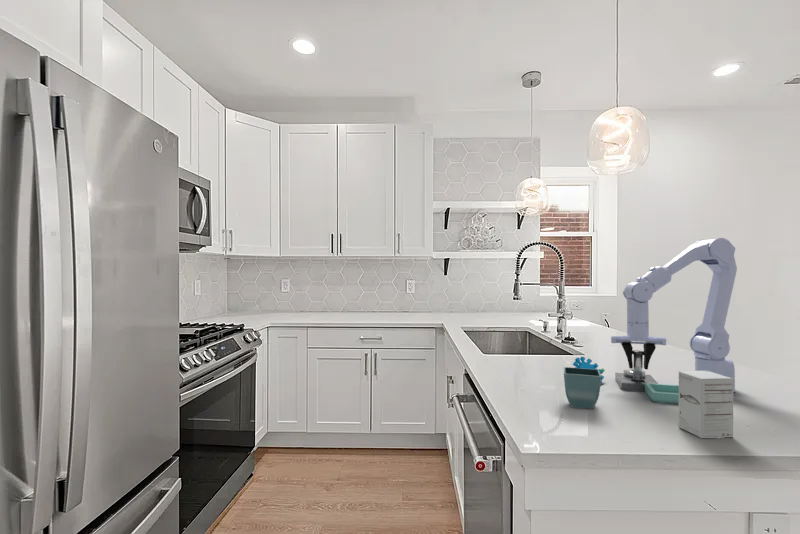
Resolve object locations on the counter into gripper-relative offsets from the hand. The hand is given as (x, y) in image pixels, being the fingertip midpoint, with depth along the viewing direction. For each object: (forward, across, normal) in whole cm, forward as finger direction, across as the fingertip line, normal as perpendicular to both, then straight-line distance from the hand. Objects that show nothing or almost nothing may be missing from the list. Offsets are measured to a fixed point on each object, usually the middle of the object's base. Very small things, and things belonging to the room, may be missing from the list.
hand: (638, 368), depth 139 cm
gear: (+6, -13, +2) cm, 15 cm away
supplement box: (+6, +7, -38) cm, 39 cm away
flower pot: (+6, -17, -25) cm, 31 cm away
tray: (+6, +8, -10) cm, 14 cm away
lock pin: (+3, 0, 0) cm, 3 cm away
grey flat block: (+6, 0, +3) cm, 6 cm away
